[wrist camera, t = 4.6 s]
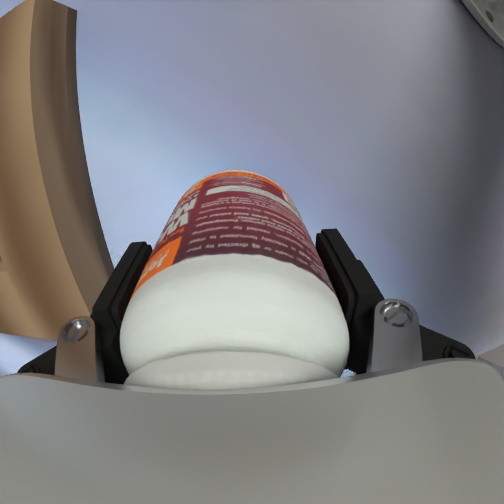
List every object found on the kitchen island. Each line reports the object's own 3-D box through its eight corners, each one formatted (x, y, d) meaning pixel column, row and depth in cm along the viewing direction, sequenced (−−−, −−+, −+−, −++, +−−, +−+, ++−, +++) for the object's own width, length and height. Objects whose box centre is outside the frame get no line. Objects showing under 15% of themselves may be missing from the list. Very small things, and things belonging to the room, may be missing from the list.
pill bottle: (181, 157, 12) (19, 380, 2) (313, 181, 13) (458, 407, 3) (171, 269, 15) (115, 482, 5) (281, 286, 16) (317, 496, 6)
